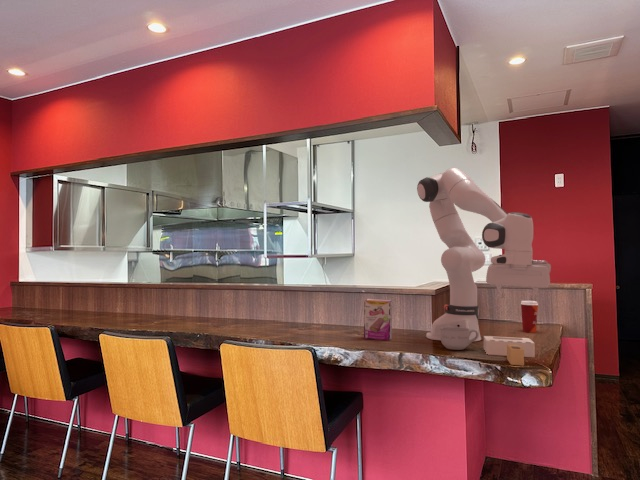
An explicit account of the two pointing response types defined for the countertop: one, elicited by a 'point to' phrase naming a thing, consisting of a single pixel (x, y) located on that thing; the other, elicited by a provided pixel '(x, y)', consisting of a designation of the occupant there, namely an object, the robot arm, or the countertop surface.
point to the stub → (515, 354)
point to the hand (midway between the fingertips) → (516, 299)
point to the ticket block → (500, 344)
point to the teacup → (457, 337)
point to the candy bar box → (378, 319)
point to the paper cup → (529, 315)
